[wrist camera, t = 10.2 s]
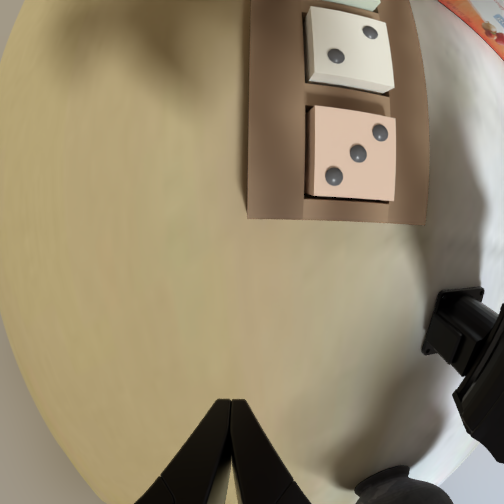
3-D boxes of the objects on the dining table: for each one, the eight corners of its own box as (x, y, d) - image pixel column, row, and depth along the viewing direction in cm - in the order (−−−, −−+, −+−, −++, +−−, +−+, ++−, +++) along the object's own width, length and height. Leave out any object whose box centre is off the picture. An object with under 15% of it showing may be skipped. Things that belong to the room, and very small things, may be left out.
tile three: (377, 124, 16) (396, 118, 13) (375, 197, 17) (394, 201, 15) (305, 114, 16) (315, 105, 13) (303, 192, 17) (314, 195, 14)
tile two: (370, 37, 14) (386, 22, 11) (376, 96, 15) (395, 87, 13) (302, 24, 14) (310, 5, 11) (305, 85, 15) (315, 71, 12)
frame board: (390, -19, 12) (399, -30, 10) (410, 220, 18) (425, 225, 16) (252, -45, 12) (252, -59, 10) (247, 214, 18) (247, 218, 16)
